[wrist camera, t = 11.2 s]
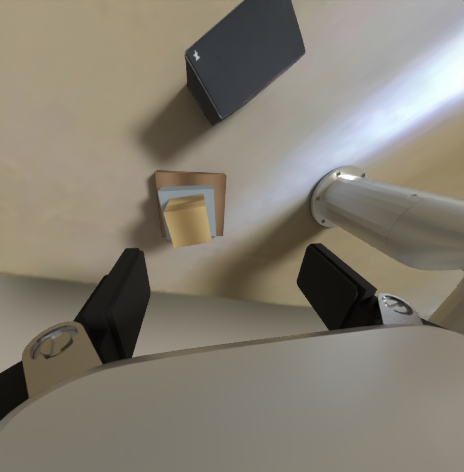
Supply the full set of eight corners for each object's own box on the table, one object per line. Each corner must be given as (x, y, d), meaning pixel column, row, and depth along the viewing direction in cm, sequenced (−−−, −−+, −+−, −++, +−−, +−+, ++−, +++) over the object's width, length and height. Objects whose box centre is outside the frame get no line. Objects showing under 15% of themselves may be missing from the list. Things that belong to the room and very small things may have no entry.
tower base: (223, 172, 32) (226, 175, 29) (221, 229, 37) (223, 235, 34) (158, 169, 30) (154, 172, 27) (164, 229, 35) (162, 236, 32)
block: (203, 193, 27) (205, 206, 22) (209, 223, 30) (211, 241, 24) (169, 198, 27) (163, 212, 21) (178, 229, 29) (174, 248, 24)
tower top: (212, 184, 30) (213, 188, 27) (214, 228, 33) (216, 236, 31) (161, 187, 29) (157, 191, 26) (169, 232, 32) (167, 240, 30)
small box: (213, 129, 28) (221, 123, 19) (185, 83, 25) (179, 50, 16) (270, 83, 27) (309, 54, 18) (248, 29, 24) (281, -41, 15)
